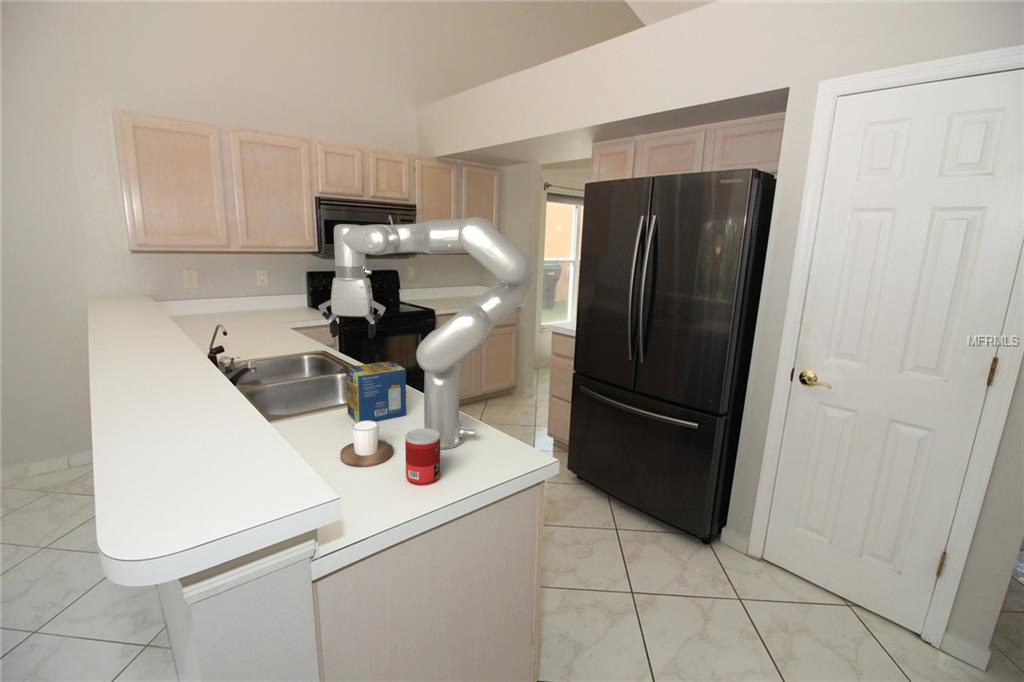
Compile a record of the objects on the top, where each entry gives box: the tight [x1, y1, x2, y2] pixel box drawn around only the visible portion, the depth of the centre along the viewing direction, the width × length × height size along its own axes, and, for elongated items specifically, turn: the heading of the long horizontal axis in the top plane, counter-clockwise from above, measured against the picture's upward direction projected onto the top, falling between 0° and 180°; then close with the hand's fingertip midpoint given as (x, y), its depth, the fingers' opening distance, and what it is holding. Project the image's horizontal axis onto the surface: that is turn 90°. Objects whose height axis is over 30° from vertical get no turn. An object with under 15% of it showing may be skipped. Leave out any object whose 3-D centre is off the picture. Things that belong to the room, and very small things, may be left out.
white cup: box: [350, 420, 380, 456], centre depth 122 cm, size 7×7×7 cm
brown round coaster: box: [339, 439, 394, 468], centre depth 123 cm, size 13×13×1 cm
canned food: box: [404, 427, 441, 486], centre depth 112 cm, size 8×8×11 cm
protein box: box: [345, 360, 407, 423], centre depth 147 cm, size 10×15×16 cm
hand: (353, 337), depth 128 cm, fingers open, 9 cm apart
